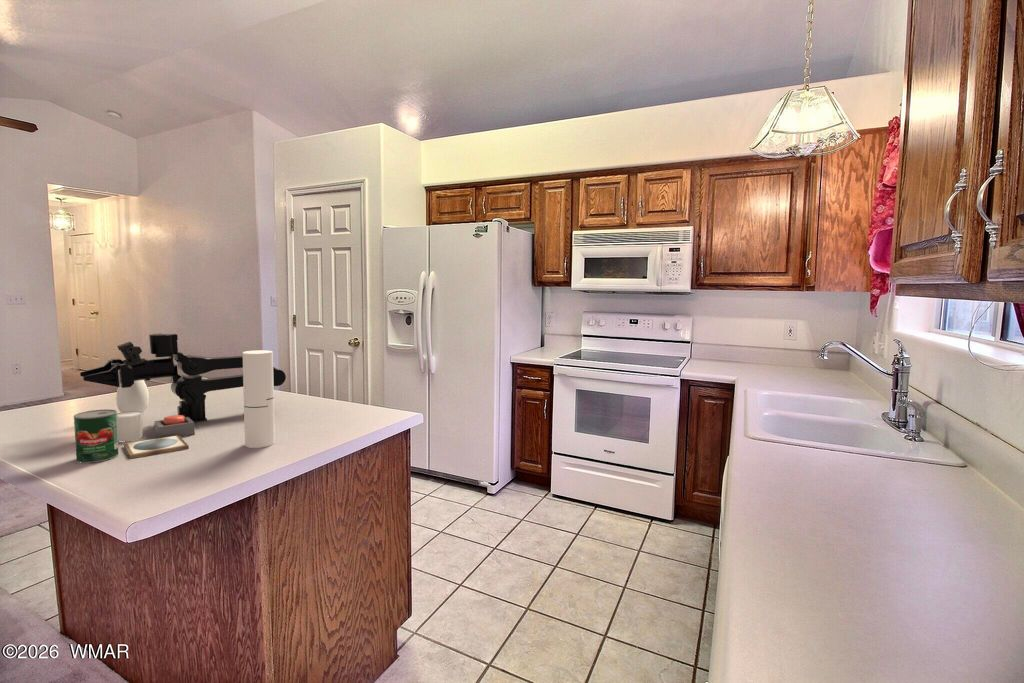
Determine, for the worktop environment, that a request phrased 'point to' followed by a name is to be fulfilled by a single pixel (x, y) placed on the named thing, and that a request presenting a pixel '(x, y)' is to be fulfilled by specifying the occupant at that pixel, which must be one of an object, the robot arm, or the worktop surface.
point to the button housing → (174, 428)
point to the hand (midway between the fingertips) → (81, 376)
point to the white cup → (130, 425)
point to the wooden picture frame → (155, 446)
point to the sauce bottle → (133, 397)
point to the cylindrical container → (258, 398)
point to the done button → (174, 420)
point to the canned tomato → (96, 435)
